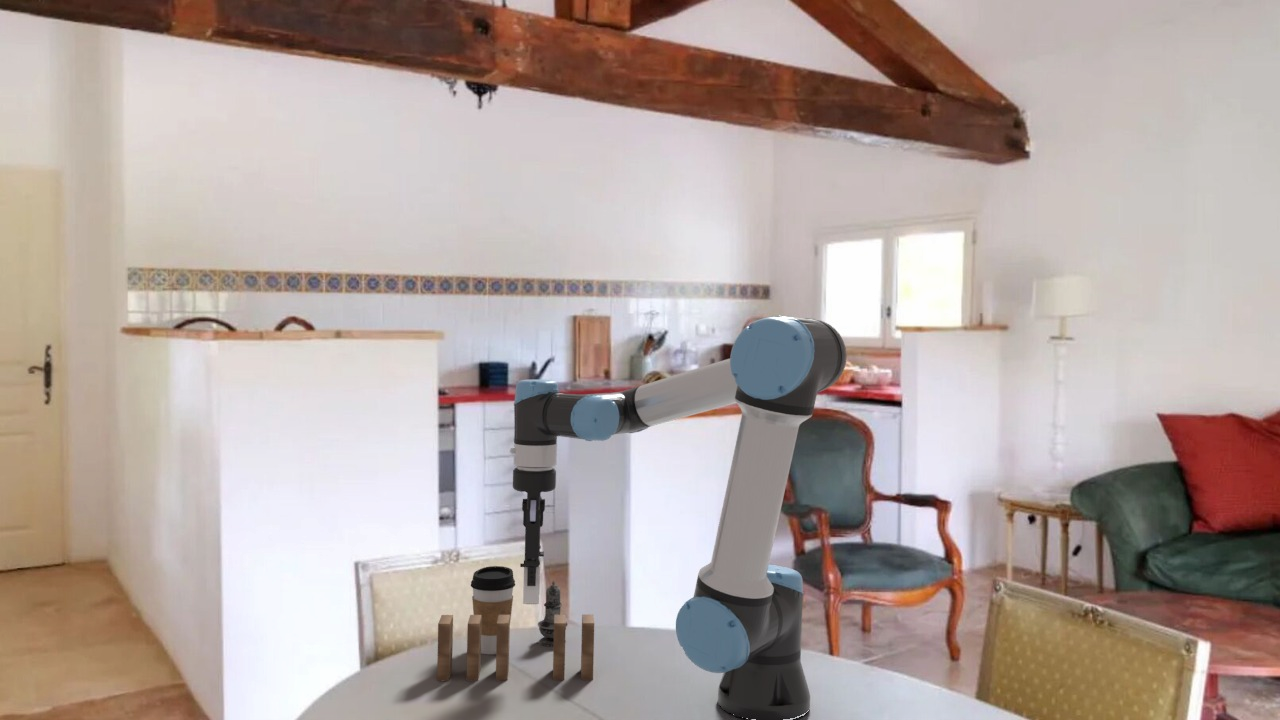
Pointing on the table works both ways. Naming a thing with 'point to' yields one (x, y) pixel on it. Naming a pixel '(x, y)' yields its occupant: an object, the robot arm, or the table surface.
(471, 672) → the domino
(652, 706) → the table surface
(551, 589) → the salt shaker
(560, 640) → the domino
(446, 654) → the domino
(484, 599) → the coffee cup
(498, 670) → the domino
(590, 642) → the domino
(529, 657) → the table surface
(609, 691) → the table surface
